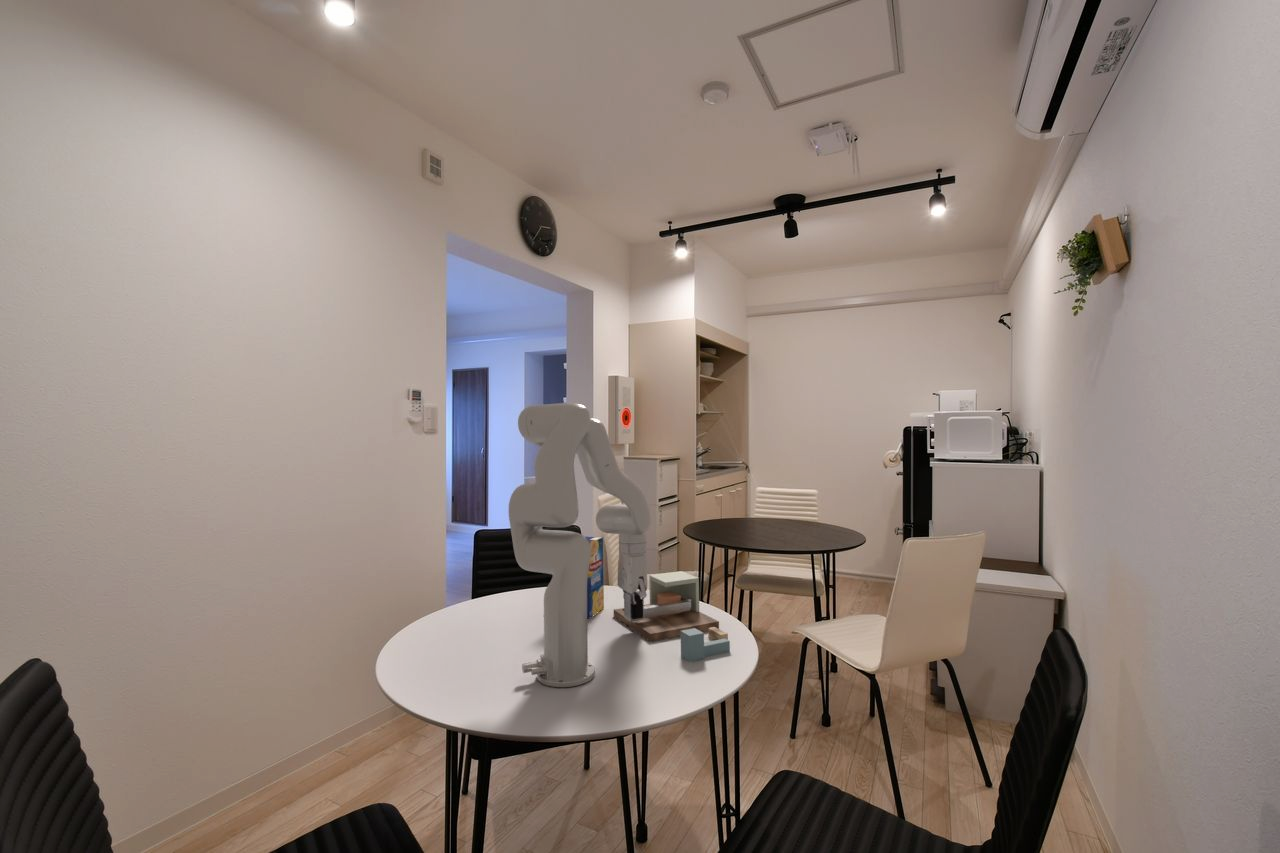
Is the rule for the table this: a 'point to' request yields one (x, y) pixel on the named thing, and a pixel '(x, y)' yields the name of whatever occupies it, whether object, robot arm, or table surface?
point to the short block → (717, 634)
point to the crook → (656, 607)
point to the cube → (668, 598)
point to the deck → (668, 624)
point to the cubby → (675, 586)
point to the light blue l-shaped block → (700, 645)
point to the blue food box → (595, 577)
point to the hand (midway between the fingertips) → (633, 615)
